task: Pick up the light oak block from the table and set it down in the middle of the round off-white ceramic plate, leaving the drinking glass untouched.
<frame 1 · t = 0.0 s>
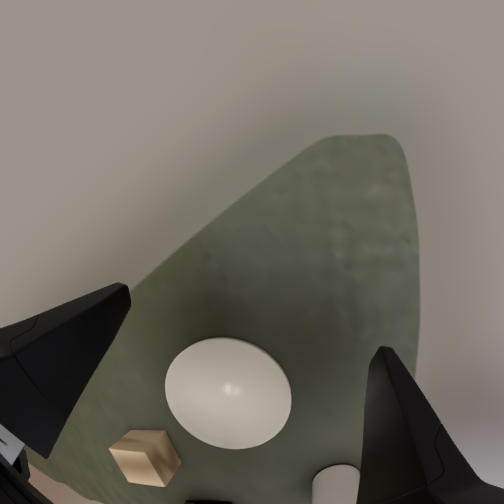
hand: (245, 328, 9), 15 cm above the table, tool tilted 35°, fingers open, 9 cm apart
oak block: (155, 446, 24), on the table
plate: (227, 396, 23), on the table
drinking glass: (335, 477, 21), on the table
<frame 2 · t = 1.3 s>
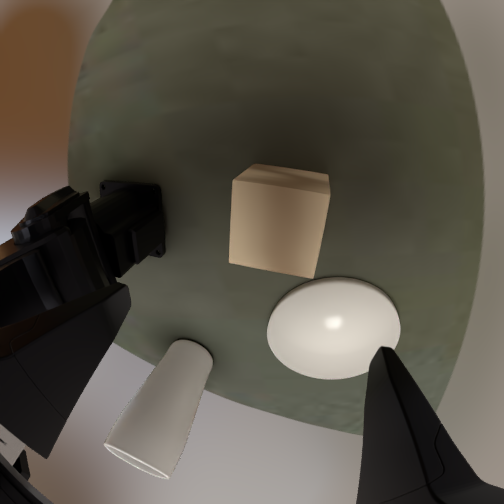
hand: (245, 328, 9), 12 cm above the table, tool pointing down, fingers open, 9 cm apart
oak block: (286, 202, 19), on the table
plate: (334, 332, 23), on the table
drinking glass: (193, 352, 30), on the table
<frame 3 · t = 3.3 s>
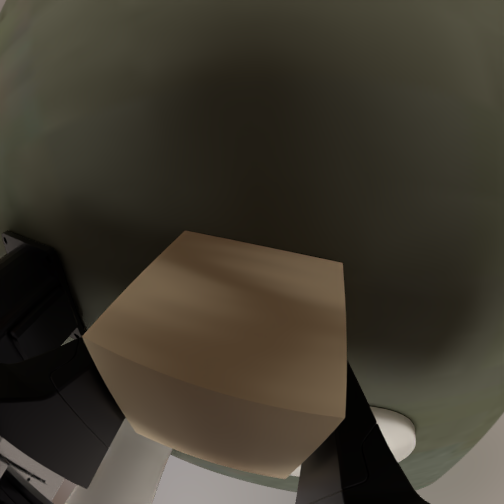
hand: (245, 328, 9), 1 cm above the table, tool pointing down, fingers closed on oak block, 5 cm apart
oak block: (252, 308, 10), on the table, touching gripper
plate: (324, 445, 14), on the table
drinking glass: (150, 428, 20), on the table
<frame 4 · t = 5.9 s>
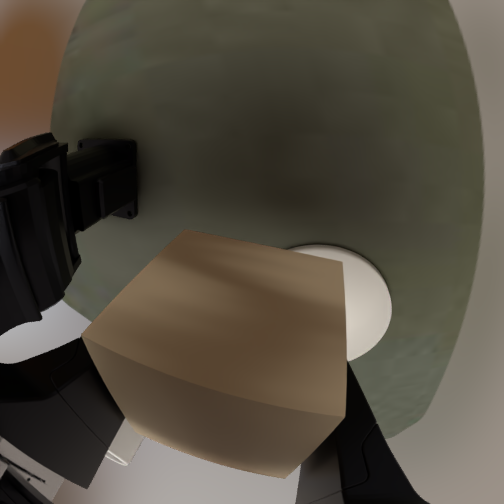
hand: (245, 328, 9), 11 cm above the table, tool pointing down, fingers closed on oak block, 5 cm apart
oak block: (252, 307, 10), point 10 cm above the table, touching gripper
plate: (317, 311, 21), on the table
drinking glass: (165, 329, 28), on the table
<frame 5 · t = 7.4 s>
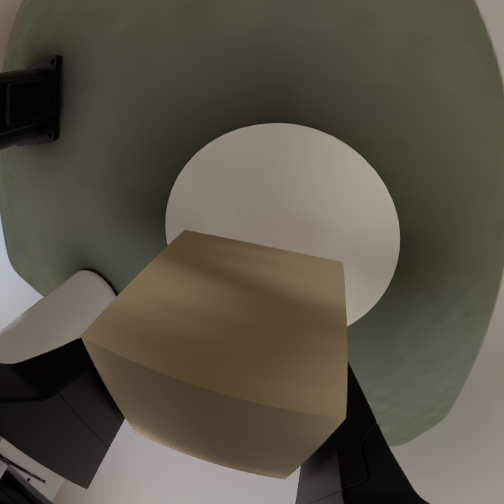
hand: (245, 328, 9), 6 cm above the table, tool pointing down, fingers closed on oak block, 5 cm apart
oak block: (252, 307, 9), point 5 cm above the table, touching gripper
plate: (279, 242, 14), on the table
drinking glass: (100, 292, 21), on the table
when the fingers open (3 cm above the table, at t = 8.7 s): oak block drops 1 cm, resting on plate.
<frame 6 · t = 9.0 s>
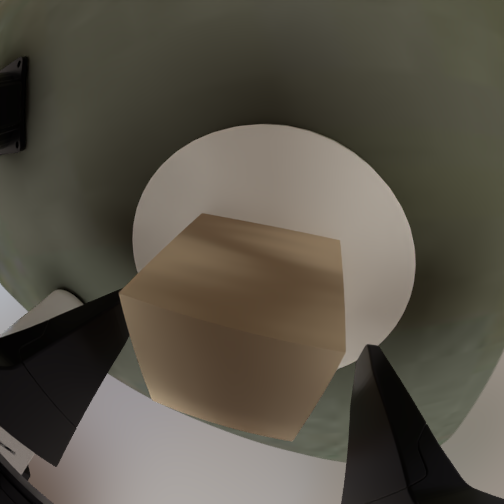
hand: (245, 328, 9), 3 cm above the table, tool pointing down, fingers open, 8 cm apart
oak block: (260, 283, 11), point 1 cm above the table, touching plate
plate: (267, 272, 12), on the table
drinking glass: (79, 312, 18), on the table
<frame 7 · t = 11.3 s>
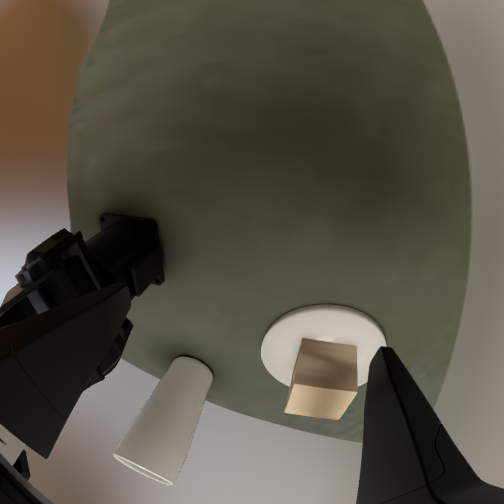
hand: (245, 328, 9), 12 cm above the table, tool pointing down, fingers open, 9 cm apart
oak block: (323, 359, 24), point 1 cm above the table, touching plate
plate: (324, 352, 24), on the table
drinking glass: (194, 367, 31), on the table
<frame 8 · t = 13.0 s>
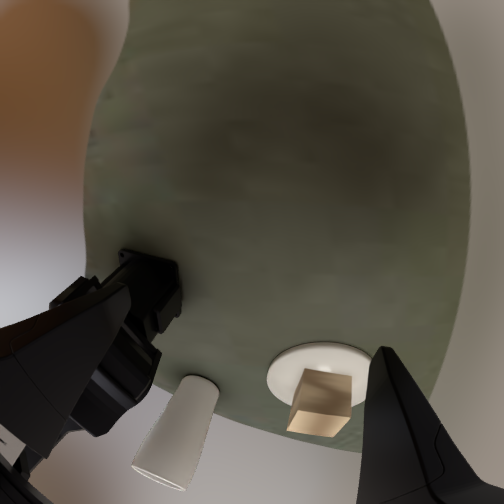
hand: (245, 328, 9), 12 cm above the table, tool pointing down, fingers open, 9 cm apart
oak block: (321, 385, 26), point 1 cm above the table, touching plate
plate: (322, 378, 27), on the table
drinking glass: (202, 384, 33), on the table
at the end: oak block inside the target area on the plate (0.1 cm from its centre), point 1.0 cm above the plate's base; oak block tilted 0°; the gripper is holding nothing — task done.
